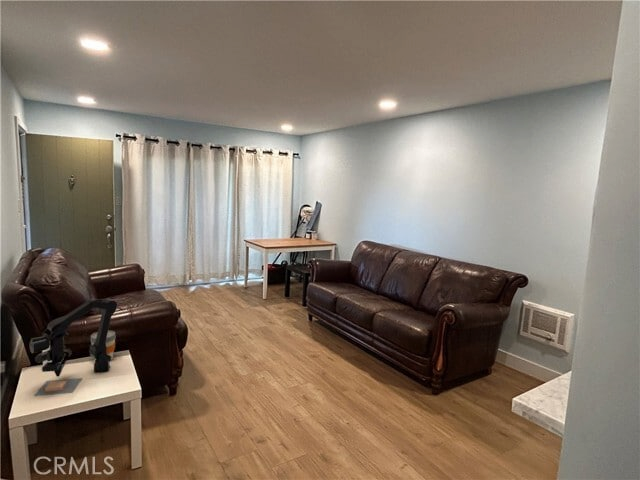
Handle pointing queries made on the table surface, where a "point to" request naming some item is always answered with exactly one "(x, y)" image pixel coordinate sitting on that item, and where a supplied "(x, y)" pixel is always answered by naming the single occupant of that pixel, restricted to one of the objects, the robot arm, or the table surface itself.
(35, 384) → the table surface
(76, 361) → the table surface
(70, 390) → the mat
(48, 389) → the tile
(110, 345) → the reusable coffee cup
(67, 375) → the table surface
